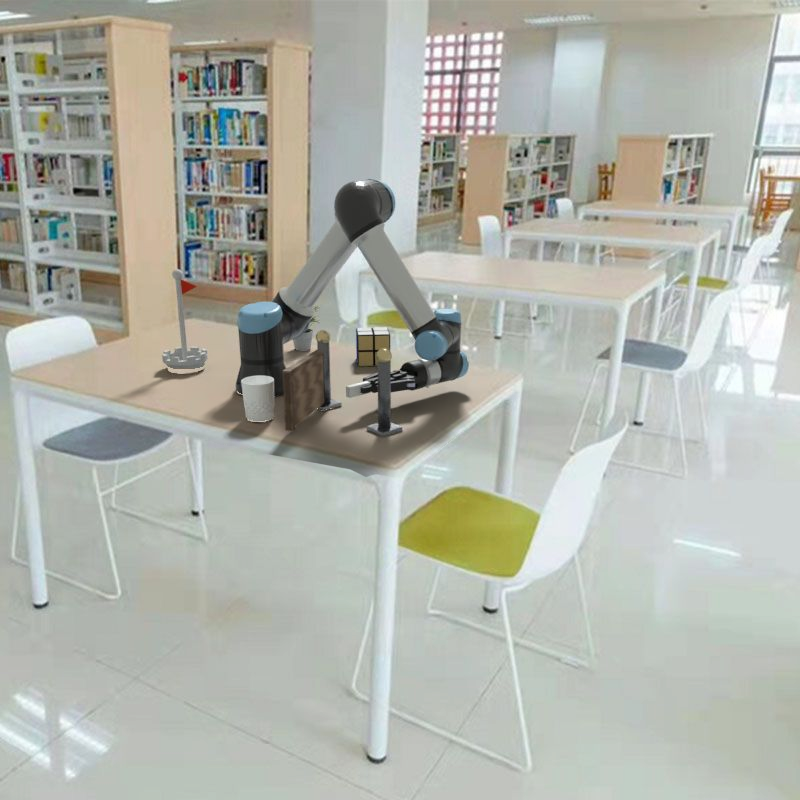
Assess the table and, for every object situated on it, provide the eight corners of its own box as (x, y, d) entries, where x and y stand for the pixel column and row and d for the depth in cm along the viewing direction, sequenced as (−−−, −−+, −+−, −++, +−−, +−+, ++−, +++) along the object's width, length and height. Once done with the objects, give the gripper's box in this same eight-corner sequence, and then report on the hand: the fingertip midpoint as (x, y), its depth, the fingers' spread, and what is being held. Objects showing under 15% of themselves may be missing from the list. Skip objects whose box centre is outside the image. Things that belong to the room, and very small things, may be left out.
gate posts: (309, 405, 199) (306, 330, 192) (327, 400, 202) (325, 326, 196) (382, 436, 177) (382, 353, 171) (402, 430, 181) (402, 348, 175)
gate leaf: (318, 404, 197) (317, 349, 192) (325, 404, 196) (323, 350, 191) (285, 430, 179) (282, 370, 174) (292, 431, 178) (289, 371, 174)
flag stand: (160, 376, 224) (150, 273, 214) (166, 364, 236) (156, 266, 226) (206, 374, 226) (198, 272, 216) (210, 362, 238) (202, 265, 228)
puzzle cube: (356, 358, 243) (355, 327, 240) (388, 357, 244) (387, 326, 240) (357, 367, 233) (357, 335, 230) (390, 366, 234) (390, 334, 231)
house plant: (326, 354, 246) (325, 304, 241) (283, 356, 245) (280, 305, 239) (324, 343, 260) (323, 296, 255) (283, 345, 258) (281, 297, 253)
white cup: (275, 423, 186) (272, 384, 183) (242, 424, 185) (239, 385, 182) (277, 413, 193) (275, 374, 190) (245, 413, 193) (243, 375, 190)
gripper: (436, 393, 198) (364, 413, 183) (403, 382, 207) (332, 400, 192) (436, 365, 195) (364, 383, 181) (403, 355, 205) (331, 371, 190)
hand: (347, 392), depth 187 cm, fingers closed
